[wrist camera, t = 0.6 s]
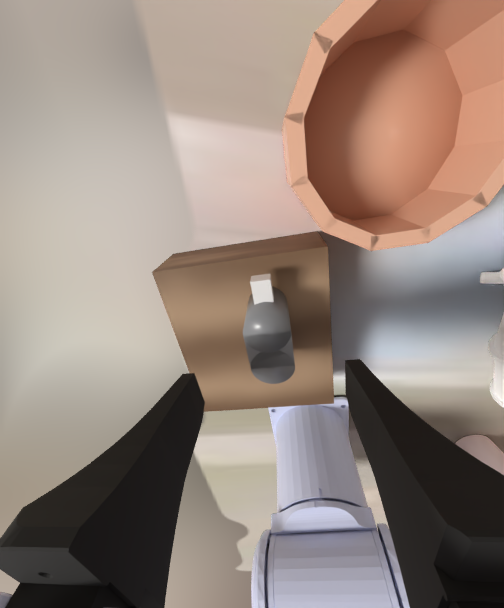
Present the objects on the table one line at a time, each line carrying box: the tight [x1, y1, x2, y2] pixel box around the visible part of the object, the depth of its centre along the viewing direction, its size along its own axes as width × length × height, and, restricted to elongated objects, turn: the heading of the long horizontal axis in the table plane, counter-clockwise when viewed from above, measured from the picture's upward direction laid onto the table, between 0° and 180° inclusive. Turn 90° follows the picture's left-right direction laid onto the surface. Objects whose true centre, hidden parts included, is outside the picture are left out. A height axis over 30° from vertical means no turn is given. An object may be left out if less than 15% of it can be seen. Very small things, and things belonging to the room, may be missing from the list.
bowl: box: [282, 0, 504, 251], centre depth 13 cm, size 11×11×5 cm
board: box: [153, 232, 334, 412], centre depth 20 cm, size 13×11×4 cm
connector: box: [243, 274, 295, 384], centre depth 16 cm, size 6×3×3 cm, turn 10°
